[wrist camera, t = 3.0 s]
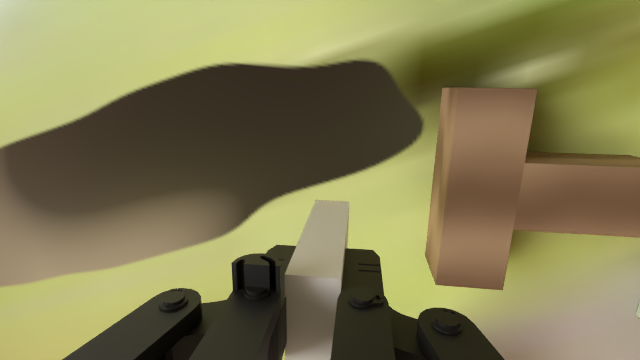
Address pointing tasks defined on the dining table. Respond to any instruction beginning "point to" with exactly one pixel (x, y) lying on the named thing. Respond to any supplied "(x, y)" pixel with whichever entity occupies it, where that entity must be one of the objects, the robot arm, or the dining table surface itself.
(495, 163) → the t block
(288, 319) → the robot arm
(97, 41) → the dining table surface
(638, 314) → the slot frame
